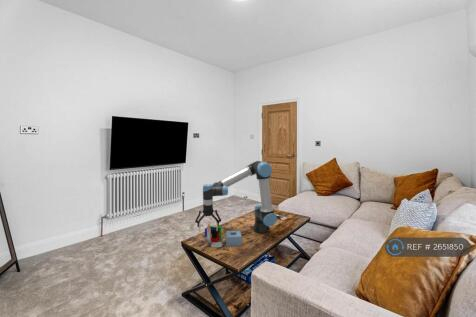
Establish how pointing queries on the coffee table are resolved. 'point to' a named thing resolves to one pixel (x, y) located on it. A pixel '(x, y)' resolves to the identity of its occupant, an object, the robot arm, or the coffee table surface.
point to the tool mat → (216, 244)
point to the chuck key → (208, 235)
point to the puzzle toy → (214, 233)
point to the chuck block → (233, 238)
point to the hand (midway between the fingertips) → (208, 230)
